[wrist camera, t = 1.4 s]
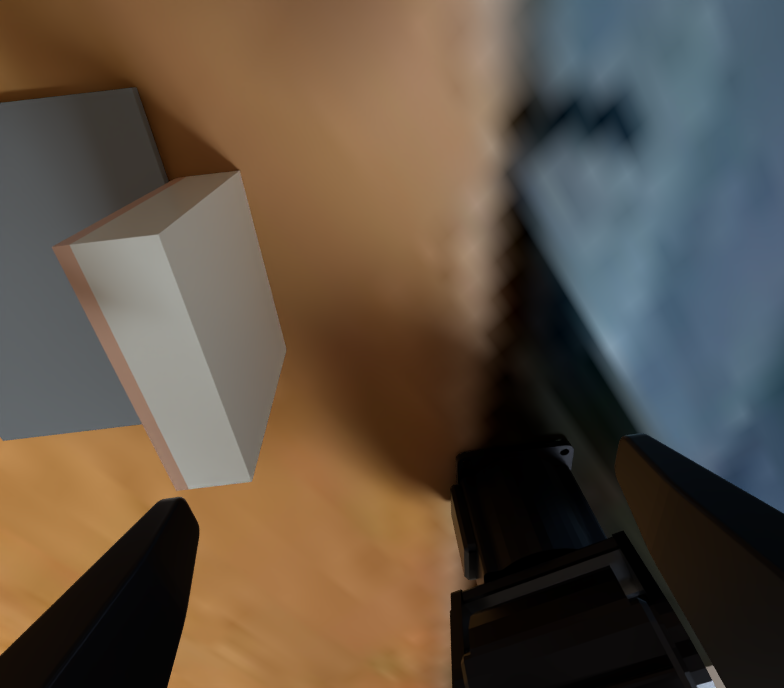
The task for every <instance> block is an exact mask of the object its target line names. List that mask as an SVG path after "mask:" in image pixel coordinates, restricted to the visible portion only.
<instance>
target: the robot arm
mask: <svg viewBox="0 0 784 688" xmlns="http://www.w3.org/2000/svg"><path fill="white" fill-rule="evenodd" d="M563 449H564V450H563ZM573 452H574V450H573V447H572V445H571V444H570V442H569V441H566V440H562V441H554V442H545V443H537V444H529V445H520V446H512V447H504V448H495V449H487V450H479V451H470V452H463V453H461V454H459V455H458V456H457V457H456V478H457V484H456V485H453V486H452V487H451V489H450V493H451V515H452V520H453V525H454V530H455V534H456V539H457V544H458V548H459V553H460V558H461V563H462V567H463V572H464V576H465V577H466V578H467V579H468V580H475V579H476V580H477V584H478V586H475V587H472V588H470V589H467V590H464V591H462V590H458V591H455V592H453V593H451V610H450V626H451V659H452V688H716V687H715V685H714V683H713V681H712V679H711V677H710V675H709V673H708V671H707V669H706V667H705V666H704V664H703V662H702V660H701V658H700V656H699V654H698V652H697V651H696V649H695V647H694V645H693V643H692V642H691V640H690V638H689V636H688V634H687V633H686V631H685V629H684V627H683V626H682V624H681V622H680V621H679V619H678V617H677V615H676V614H675V612H674V610H673V609H672V607H671V605H670V604H669V602H668V601H667V599H666V597H665V596H664V594H663V593H662V591H661V590H660V588H659V586H658V585H657V583H656V582H655V580H654V578H653V577H652V575H651V574H650V572H649V571H648V569H647V567H646V566H645V564H644V563H643V561H642V559H641V558H640V556H639V555H638V553H637V552H636V550H635V548H634V547H633V545H632V544H631V542H630V540H629V539H628V537H627V536H626V534H625V533H624V531H620V532H618V533H615V534H612V536H613V537H610V538H608V539H607V538H606V536H605V534H604V532H603V530H602V528H601V526H600V525H599V523H598V521H597V519H596V517H595V515H594V513H593V512H592V510H591V508H590V506H589V504H588V502H587V500H586V499H585V497H584V495H583V493H582V491H581V489H580V487H579V486H578V484H577V482H576V480H575V478H574V476H573V474H572V473H571V465H572V459H573ZM464 461H466V462H464ZM615 473H616V477H617V479H618V482H619V484H620V486H621V489H622V491H623V493H624V495H625V498H626V500H627V502H628V505H629V507H630V509H631V511H632V514H633V516H634V518H635V521H636V523H637V525H638V527H639V530H640V532H641V534H642V537H643V539H644V541H645V543H646V545H647V548H648V550H649V552H650V554H651V556H652V558H653V560H654V561H655V563H656V565H657V567H658V569H659V570H660V572H661V574H662V576H663V578H664V579H665V581H666V583H667V585H668V586H669V588H670V590H671V592H672V593H673V595H674V597H675V599H676V601H677V602H678V604H679V606H680V608H681V609H682V611H683V613H684V615H685V616H686V618H687V620H688V622H689V623H690V625H691V627H692V629H693V631H694V632H695V634H696V636H697V638H698V639H699V641H700V643H701V645H702V646H703V648H704V650H705V652H706V653H707V655H708V657H709V659H710V661H711V662H712V664H713V666H714V667H715V669H716V671H717V673H718V675H719V676H720V678H721V680H722V682H723V683H724V685H725V687H726V688H784V513H782V512H780V511H778V510H777V509H775V508H773V507H772V506H770V505H768V504H766V503H765V502H763V501H761V500H759V499H758V498H756V497H754V496H752V495H751V494H749V493H747V492H746V491H744V490H742V489H740V488H739V487H737V486H735V485H733V484H732V483H730V482H728V481H726V480H725V479H723V478H721V477H720V476H718V475H716V474H714V473H713V472H711V471H709V470H707V469H706V468H704V467H702V466H701V465H699V464H697V463H695V462H694V461H692V460H690V459H688V458H687V457H685V456H683V455H681V454H680V453H678V452H676V451H675V450H673V449H671V448H669V447H668V446H666V445H664V444H662V443H661V442H659V441H657V440H655V439H654V438H652V437H650V436H648V435H646V434H642V433H640V434H633V435H625V436H623V437H622V438H621V439H620V442H619V446H618V452H617V457H616V462H615ZM198 541H199V525H198V522H197V520H196V518H195V516H194V514H193V513H192V511H191V509H190V507H189V505H188V503H187V502H186V500H185V499H184V498H182V497H175V498H168V499H162V500H160V501H159V502H157V503H156V504H155V505H154V506H153V507H152V508H151V509H150V510H149V511H148V512H147V513H146V514H145V515H144V516H143V517H142V518H141V519H140V520H139V521H138V522H137V523H136V524H135V525H134V526H133V527H131V528H130V529H129V530H128V531H127V532H126V533H125V534H124V535H123V536H122V537H121V538H120V539H119V540H118V541H117V542H116V543H115V544H114V545H113V546H112V547H111V548H110V549H109V550H108V551H107V552H106V553H105V554H104V555H103V556H102V557H101V558H100V559H99V560H98V561H97V562H96V563H95V564H94V565H93V566H92V567H91V568H90V569H88V570H87V571H86V572H85V573H84V574H83V575H82V576H81V577H80V578H79V579H78V580H77V581H76V582H75V583H74V584H73V585H72V586H71V587H70V588H69V589H68V590H67V591H66V592H65V593H64V594H63V595H62V596H61V597H60V598H59V599H58V600H57V601H56V602H55V603H54V604H53V605H52V606H51V607H50V608H49V609H48V610H47V611H45V612H44V613H43V614H42V615H41V616H40V617H39V618H38V619H37V620H36V621H35V622H34V623H33V624H32V625H31V626H30V627H29V628H28V629H27V630H26V631H25V632H24V633H23V634H22V635H21V636H20V637H19V638H18V639H17V640H16V641H15V642H14V643H13V644H12V645H11V646H10V647H9V648H8V649H7V650H6V651H5V652H4V653H2V654H1V655H0V688H167V686H168V682H169V679H170V675H171V671H172V667H173V664H174V660H175V656H176V653H177V649H178V645H179V641H180V638H181V634H182V630H183V626H184V622H185V618H186V613H187V608H188V602H189V596H190V590H191V584H192V578H193V572H194V565H195V559H196V553H197V547H198Z"/></svg>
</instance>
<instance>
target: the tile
mask: <svg viewBox="0 0 784 688" xmlns="http://www.w3.org/2000/svg"><path fill="white" fill-rule="evenodd" d="M52 249H53V251H54V253H55V255H56V257H57V259H58V261H59V263H60V265H61V267H62V268H63V270H64V272H65V274H66V276H67V278H68V280H69V282H70V284H71V286H72V288H73V290H74V292H75V294H76V296H77V298H78V300H79V302H80V304H81V306H82V308H83V309H84V311H85V313H86V315H87V317H88V319H89V321H90V323H91V325H92V327H93V329H94V331H95V333H96V335H97V337H98V339H99V341H100V343H101V345H102V347H103V349H104V350H105V352H106V354H107V356H108V358H109V360H110V362H111V364H112V366H113V368H114V370H115V372H116V374H117V376H118V378H119V380H120V382H121V384H122V386H123V388H124V390H125V391H126V393H127V395H128V397H129V399H130V401H131V403H132V405H133V407H134V409H135V411H136V413H137V415H138V417H139V419H140V421H141V423H142V425H143V427H144V429H145V431H146V432H147V434H148V436H149V438H150V440H151V442H152V444H153V446H154V448H155V450H156V452H157V454H158V456H159V458H160V460H161V462H162V464H163V466H164V468H165V470H166V472H167V473H168V475H169V477H170V479H171V481H172V483H173V485H174V487H175V489H176V491H178V490H186V489H195V488H203V487H211V486H220V485H228V484H236V483H245V482H252V479H253V475H254V471H255V468H256V464H257V460H258V456H259V452H260V449H261V445H262V441H263V437H264V433H265V430H266V426H267V422H268V418H269V415H270V411H271V407H272V403H273V399H274V396H275V392H276V388H277V384H278V380H279V377H280V373H281V369H282V365H283V361H284V358H285V354H286V350H287V349H286V345H285V342H284V338H283V334H282V330H281V326H280V323H279V319H278V315H277V311H276V307H275V303H274V300H273V296H272V292H271V288H270V284H269V281H268V277H267V273H266V269H265V265H264V261H263V258H262V254H261V250H260V246H259V242H258V239H257V235H256V231H255V227H254V223H253V219H252V216H251V212H250V208H249V204H248V200H247V197H246V193H245V189H244V185H243V181H242V177H241V174H240V170H239V171H231V172H222V173H214V174H205V175H197V176H188V177H180V178H175V179H173V180H172V181H170V182H168V183H166V184H164V185H163V186H161V187H159V188H157V189H155V190H154V191H152V192H150V193H148V194H146V195H144V196H143V197H141V198H139V199H137V200H135V201H134V202H132V203H130V204H128V205H126V206H125V207H123V208H121V209H119V210H117V211H116V212H114V213H112V214H110V215H108V216H107V217H105V218H103V219H101V220H99V221H98V222H96V223H94V224H92V225H90V226H89V227H87V228H85V229H83V230H81V231H80V232H78V233H76V234H74V235H72V236H70V237H69V238H67V239H65V240H63V241H61V242H60V243H58V244H56V245H54V246H52Z"/></svg>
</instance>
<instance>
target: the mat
mask: <svg viewBox="0 0 784 688" xmlns="http://www.w3.org/2000/svg"><path fill="white" fill-rule="evenodd" d="M168 182H169V181H168V178H167V175H166V172H165V169H164V166H163V163H162V160H161V158H160V155H159V152H158V149H157V146H156V143H155V140H154V137H153V134H152V131H151V129H150V126H149V123H148V120H147V117H146V114H145V111H144V108H143V105H142V102H141V99H140V97H139V94H138V91H137V88H136V87H135V88H124V89H116V90H107V91H98V92H90V93H81V94H73V95H64V96H56V97H47V98H38V99H30V100H21V101H13V102H4V103H0V437H1V439H2V440H3V441H5V440H14V439H22V438H30V437H39V436H47V435H55V434H64V433H72V432H81V431H89V430H97V429H106V428H114V427H122V426H131V425H139V424H142V423H141V421H140V419H139V417H138V415H137V413H136V411H135V409H134V407H133V405H132V403H131V401H130V399H129V397H128V395H127V393H126V391H125V390H124V388H123V386H122V384H121V382H120V380H119V378H118V376H117V374H116V372H115V370H114V368H113V366H112V364H111V362H110V360H109V358H108V356H107V354H106V352H105V350H104V349H103V347H102V345H101V343H100V341H99V339H98V337H97V335H96V333H95V331H94V329H93V327H92V325H91V323H90V321H89V319H88V317H87V315H86V313H85V311H84V309H83V308H82V306H81V304H80V302H79V300H78V298H77V296H76V294H75V292H74V290H73V288H72V286H71V284H70V282H69V280H68V278H67V276H66V274H65V272H64V270H63V268H62V267H61V265H60V263H59V261H58V259H57V257H56V255H55V253H54V251H53V249H52V246H54V245H56V244H58V243H60V242H61V241H63V240H65V239H67V238H69V237H70V236H72V235H74V234H76V233H78V232H80V231H81V230H83V229H85V228H87V227H89V226H90V225H92V224H94V223H96V222H98V221H99V220H101V219H103V218H105V217H107V216H108V215H110V214H112V213H114V212H116V211H117V210H119V209H121V208H123V207H125V206H126V205H128V204H130V203H132V202H134V201H135V200H137V199H139V198H141V197H143V196H144V195H146V194H148V193H150V192H152V191H154V190H155V189H157V188H159V187H161V186H163V185H164V184H166V183H168Z"/></svg>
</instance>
